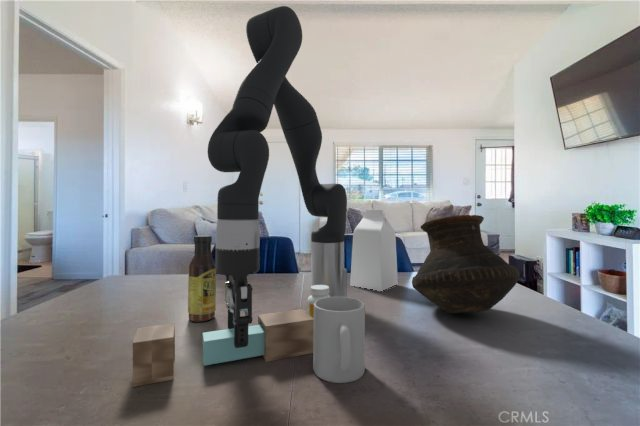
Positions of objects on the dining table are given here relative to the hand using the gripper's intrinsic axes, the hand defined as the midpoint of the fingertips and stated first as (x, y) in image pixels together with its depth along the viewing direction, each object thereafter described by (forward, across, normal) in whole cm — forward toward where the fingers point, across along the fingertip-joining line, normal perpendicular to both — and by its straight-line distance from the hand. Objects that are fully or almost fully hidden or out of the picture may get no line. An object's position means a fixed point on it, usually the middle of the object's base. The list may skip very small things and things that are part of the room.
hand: (237, 337), depth 56 cm
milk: (+3, +36, -51) cm, 63 cm away
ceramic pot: (+3, +2, -55) cm, 56 cm away
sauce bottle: (+4, +24, +5) cm, 25 cm away
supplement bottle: (+4, +6, -18) cm, 20 cm away
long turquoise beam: (+3, 0, -3) cm, 5 cm away
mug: (+4, -12, -14) cm, 19 cm away
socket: (+4, 0, +13) cm, 13 cm away
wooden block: (+4, 0, -9) cm, 10 cm away
